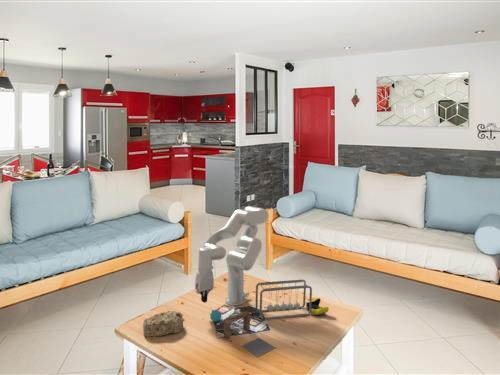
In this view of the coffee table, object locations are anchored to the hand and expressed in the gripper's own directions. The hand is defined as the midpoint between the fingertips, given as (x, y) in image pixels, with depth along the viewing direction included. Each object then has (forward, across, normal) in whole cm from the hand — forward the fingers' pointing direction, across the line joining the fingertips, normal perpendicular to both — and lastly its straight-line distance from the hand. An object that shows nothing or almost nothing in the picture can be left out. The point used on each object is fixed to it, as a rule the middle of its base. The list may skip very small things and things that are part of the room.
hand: (204, 301), depth 229 cm
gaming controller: (+7, -53, +37) cm, 65 cm away
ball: (+5, -1, +9) cm, 11 cm away
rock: (+10, +25, -1) cm, 27 cm away
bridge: (+8, -1, +27) cm, 29 cm away
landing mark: (+8, -1, +43) cm, 44 cm away
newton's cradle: (+7, -36, +27) cm, 45 cm away
